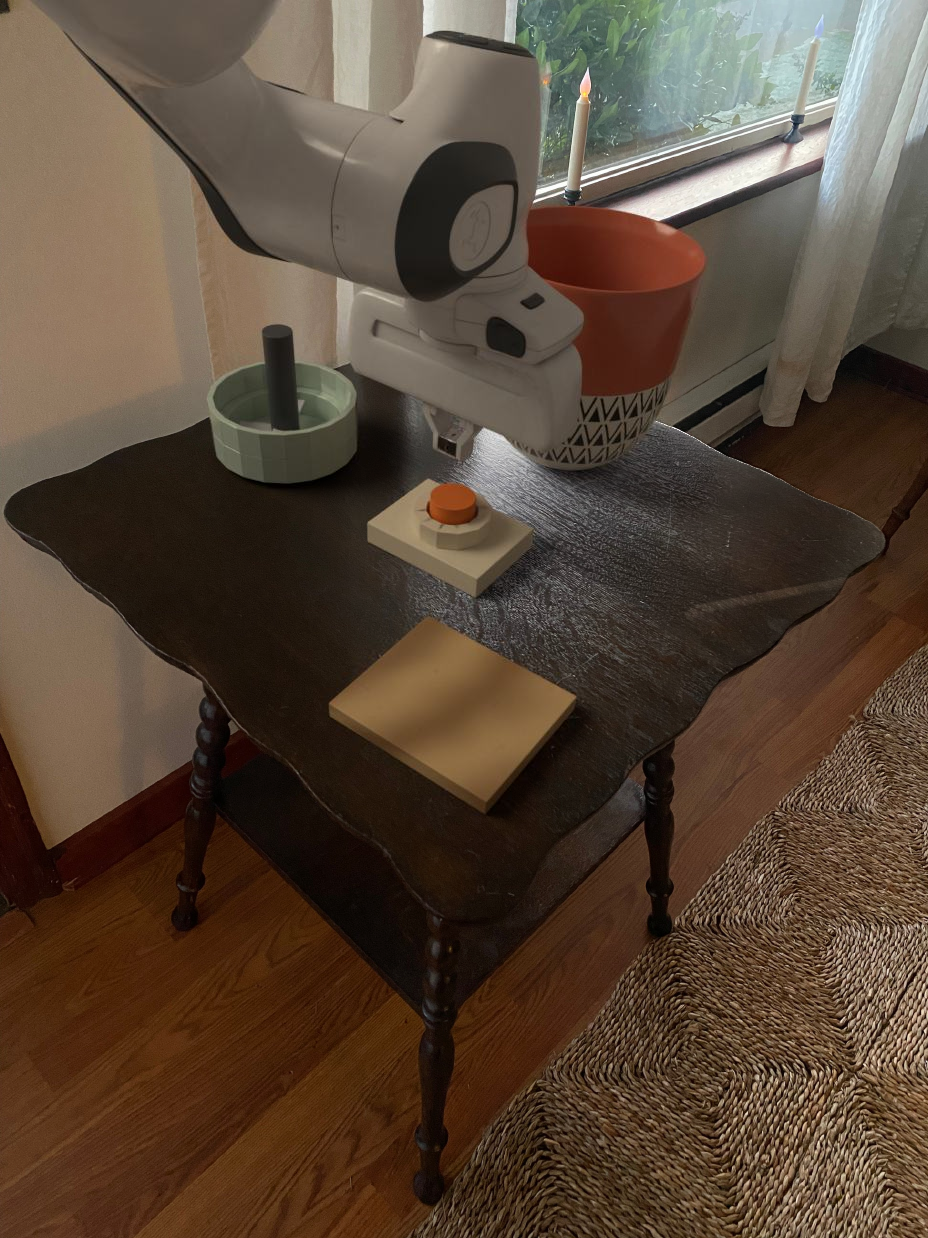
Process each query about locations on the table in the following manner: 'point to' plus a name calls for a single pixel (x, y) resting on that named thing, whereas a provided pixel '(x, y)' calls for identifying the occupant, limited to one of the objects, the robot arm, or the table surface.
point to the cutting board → (454, 711)
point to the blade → (280, 381)
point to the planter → (616, 319)
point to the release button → (452, 504)
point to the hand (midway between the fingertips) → (452, 453)
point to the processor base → (451, 540)
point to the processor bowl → (289, 451)
